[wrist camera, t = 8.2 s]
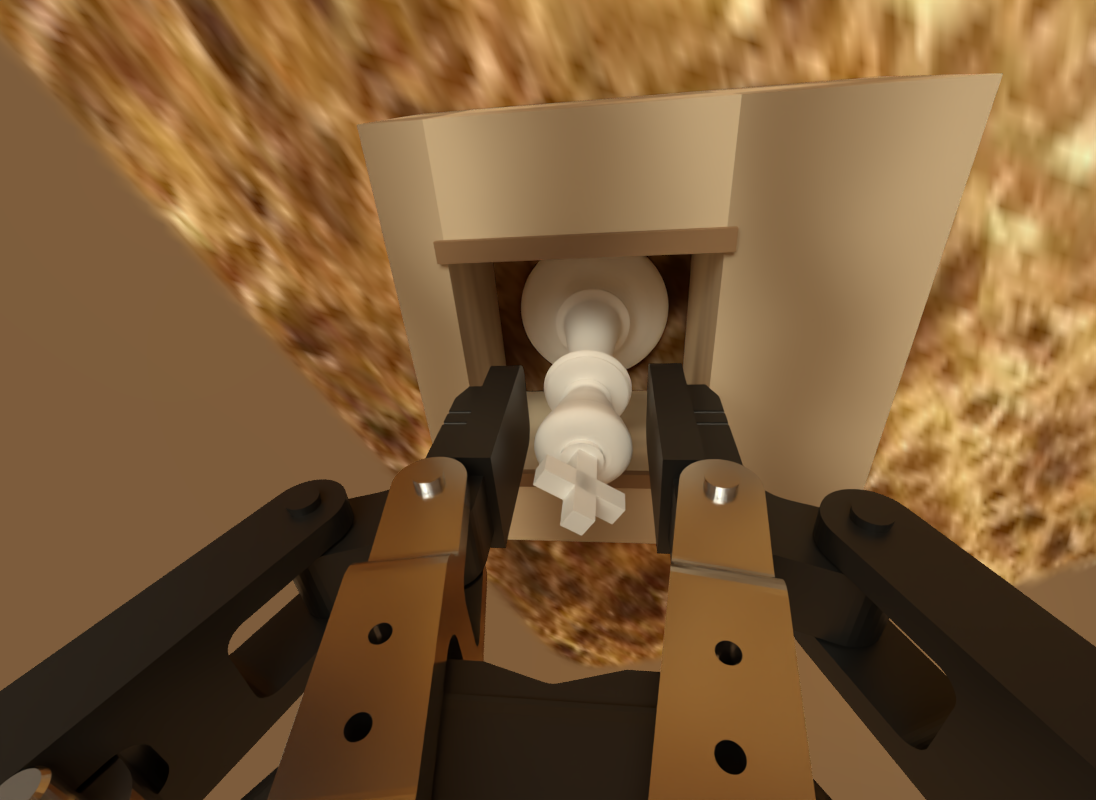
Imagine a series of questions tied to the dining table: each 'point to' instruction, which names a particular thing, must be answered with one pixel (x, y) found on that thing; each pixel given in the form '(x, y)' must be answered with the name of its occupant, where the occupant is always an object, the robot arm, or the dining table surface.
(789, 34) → the dining table surface
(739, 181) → the socket block
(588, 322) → the chess piece
